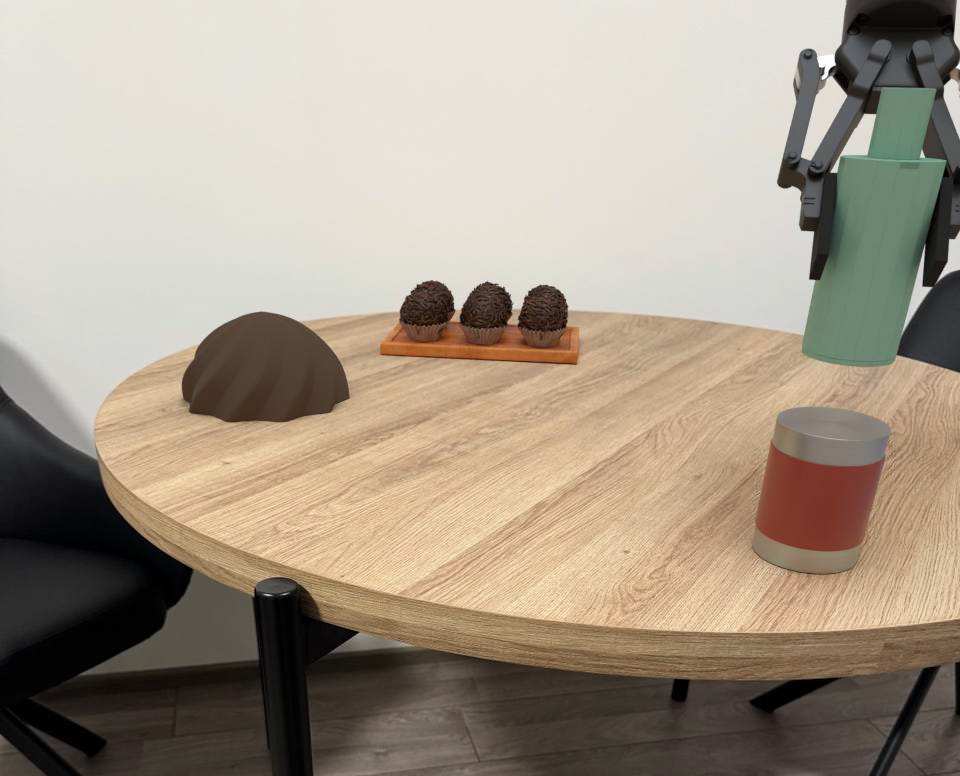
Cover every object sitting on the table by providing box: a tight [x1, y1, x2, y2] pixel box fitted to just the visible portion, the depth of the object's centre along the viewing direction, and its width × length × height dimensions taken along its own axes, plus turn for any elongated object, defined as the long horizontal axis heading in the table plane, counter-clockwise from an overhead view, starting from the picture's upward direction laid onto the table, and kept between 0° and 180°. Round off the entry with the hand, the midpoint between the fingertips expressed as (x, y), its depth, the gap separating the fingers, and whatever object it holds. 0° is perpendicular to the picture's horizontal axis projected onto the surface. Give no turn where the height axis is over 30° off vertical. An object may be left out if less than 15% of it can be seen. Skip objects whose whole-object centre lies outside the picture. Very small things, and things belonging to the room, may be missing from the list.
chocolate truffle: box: [379, 279, 580, 365], centre depth 133 cm, size 28×17×8 cm, turn 84°
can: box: [751, 406, 892, 575], centre depth 73 cm, size 9×9×11 cm
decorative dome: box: [181, 310, 350, 423], centre depth 107 cm, size 19×20×10 cm
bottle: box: [801, 88, 947, 368], centre depth 63 cm, size 7×7×17 cm
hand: (876, 270), depth 61 cm, fingers closed on bottle, 7 cm apart
